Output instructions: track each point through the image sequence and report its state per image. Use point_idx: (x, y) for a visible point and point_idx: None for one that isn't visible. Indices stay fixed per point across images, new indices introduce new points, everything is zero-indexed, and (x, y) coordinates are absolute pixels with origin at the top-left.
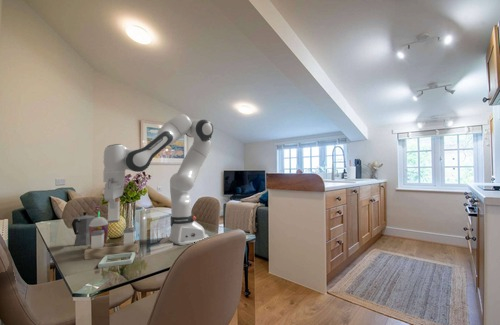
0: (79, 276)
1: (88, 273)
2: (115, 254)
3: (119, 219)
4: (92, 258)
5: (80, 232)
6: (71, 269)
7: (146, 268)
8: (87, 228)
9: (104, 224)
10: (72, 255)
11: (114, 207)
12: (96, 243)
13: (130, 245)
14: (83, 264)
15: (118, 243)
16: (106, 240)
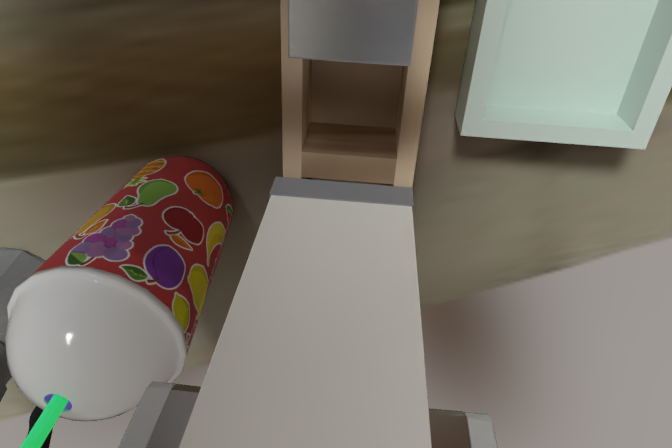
0: (625, 209)
1: (610, 175)
2: (480, 63)
3: (293, 188)
4: None
5: (7, 376)
6: (474, 264)
7: None
8: None
9: (140, 297)
10: (222, 305)
11: (491, 427)
12: None
13: None
14: (420, 227)
15: (302, 76)
16: (163, 186)
